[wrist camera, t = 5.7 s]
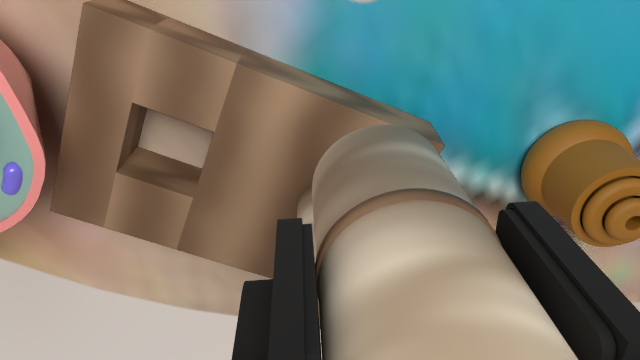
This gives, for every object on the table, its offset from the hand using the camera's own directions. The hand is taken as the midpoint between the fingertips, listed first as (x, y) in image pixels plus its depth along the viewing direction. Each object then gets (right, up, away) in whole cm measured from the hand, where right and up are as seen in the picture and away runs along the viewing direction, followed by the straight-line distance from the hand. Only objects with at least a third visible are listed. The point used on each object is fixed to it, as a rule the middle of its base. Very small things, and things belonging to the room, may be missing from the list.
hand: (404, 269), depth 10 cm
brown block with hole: (-7, +4, +23) cm, 24 cm away
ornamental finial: (+16, +3, +24) cm, 29 cm away
